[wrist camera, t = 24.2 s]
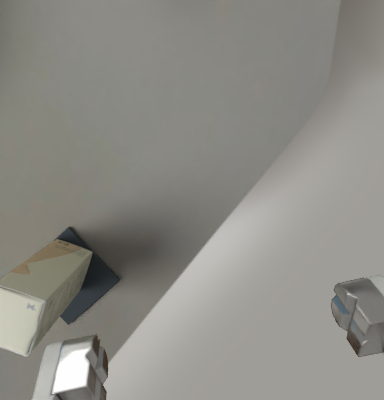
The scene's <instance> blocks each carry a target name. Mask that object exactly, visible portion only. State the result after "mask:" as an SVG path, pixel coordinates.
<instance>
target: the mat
mask: <svg viewBox="0 0 384 400" xmlns="http://www.w3.org/2000/svg"><path fill="white" fill-rule="evenodd" d="M56 239H59V240H62V241H65V242H68V243H71V244H74V245H77V246H79V247H82V248H84V249H87V250H89V251H92V250H91V249H90V248H89V247H88V246H87V245H86V244H85V243H84V242H83V241H82V240H81V239H80V238H79V237H78V236H77V235H76V234H75V233H74V231H73V230H72V229H71V228H70V227H68V228H67V229H66V230H65V231H64V232H63V233H62V234H61V235H60V236H58V237H57V238H56ZM56 239H55V240H56ZM55 240H54V241H55ZM92 252H93V251H92ZM119 280H120V279H119V278H118V277H117V276H116V275H115V274H114V273H113V272H112V270H111V269H110V268H109V267H108V266H107V265H106V264H105V263H104V262H103V261H102V260H101V259H100V258H99V257H98V256H97V255H96V254H95V253H94V252H93V254H92V257H91V260H90V264H89V267H88V270H87V273H86V276H85V278H84V281H83V284H82V286H81V289H80V291H79V292H78V293H77V295H76V296H75V297H74V298H73V300H72V301H71V302H70V304H69V305H68V306H67V307H66V309H65V310H64V311H63V313H62V314H61V315H60V317H61V318H62V319H63V320H64V321H65V322H66V323H67V324H68V325H69V324H70V323H71V322H72V321H73V320H75V319H76V318H77V317H78V316H79V315H80V314H81V313H83V312H84V311H85V310H86V309H87V308H88V307H90V306H91V305H92V304H93V303H94V302H95V301H96V300H98V299H99V298H100V297H101V296H102V295H103V294H104V293H106V292H107V291H108V290H109V289H110V288H111V287H112V286H114V285H115V284H116V283H117V282H118V281H119Z"/></svg>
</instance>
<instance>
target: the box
mask: <svg viewBox="0 0 384 400" xmlns="http://www.w3.org/2000/svg"><path fill="white" fill-rule="evenodd" d="M92 254H93V252H92V251H89V250H87V249H84V248H82V247H79V246H77V245H74V244H71V243H68V242H65V241H62V240H59V239H56V240H55V241H53V242H52V243H50V244H49V245H48V246H46V247H45V248H43V249H42V250H40V251H39V252H38V253H36V254H35V255H33V256H32V257H30V258H29V259H27V260H26V261H25V262H23V263H22V264H20V265H19V266H18V267H16V268H15V269H13V270H12V271H10V272H9V273H7V274H6V275H5V276H3V277H2V278H0V348H3V349H6V350H9V351H11V352H14V353H17V354H20V355H23V356H25V357H27V356H29V355H30V353H31V352H32V351H33V350H34V348H35V347H36V346H37V345H38V343H39V342H40V341H41V340H42V338H43V337H44V336H45V334H46V333H47V332H48V331H49V329H50V328H51V327H52V325H53V324H54V323H55V322H56V320H57V319H58V318H59V316H60V315H61V314H62V313H63V311H64V310H65V309H66V307H67V306H68V305H69V304H70V302H71V301H72V300H73V298H74V297H75V296H76V295H77V293H78V292H79V291H80V289H81V286H82V284H83V281H84V278H85V276H86V273H87V270H88V267H89V264H90V260H91V257H92Z"/></svg>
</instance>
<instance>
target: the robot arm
mask: <svg viewBox="0 0 384 400" xmlns="http://www.w3.org/2000/svg"><path fill="white" fill-rule="evenodd" d="M334 292H335V293H336V296H335V297H334V298H333V299H332V303H331V308H332V313H333V316H334V318H335V320H336V322H337V323H338V325H339V327H341V328H343V329H344V330H346V331H347V340H348V341H349V343H350V344H351V346H352V348H353V349H354V351H355V352H356V354H357V355H358V357H362V356H367V355H372V354H378V353H383V352H384V277H383V276H382V275H375V276H371V277H366V278H360V279H355V280H351V281H346V282H342V283H338V284H337V285H335V288H334ZM99 344H100V340H99V338H98V336H97V335H92V336H87V337H81V338H76V339H71V340H66V341H60V342H56V343H51V344H48V345H47V347H46V349H45V351H44V355H43V359H42V363H41V366H40V370H39V374H38V378H37V382H36V386H35V390H34V394H33V398H32V399H31V400H106V390H105V388H104V386H103V383H104V382H105V380H106V379H107V377H108V360H107V355H106V352H105V349H104V348H103V347H101V346H99Z"/></svg>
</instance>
